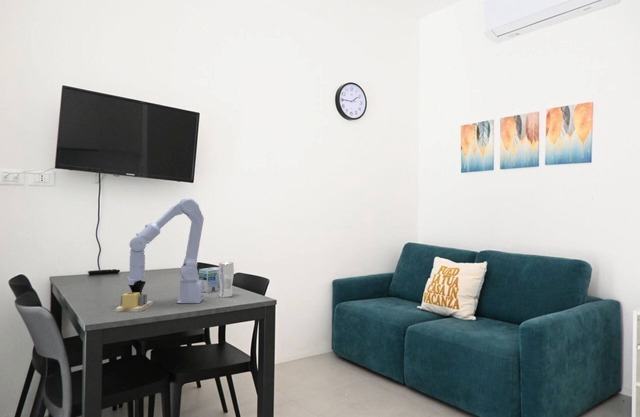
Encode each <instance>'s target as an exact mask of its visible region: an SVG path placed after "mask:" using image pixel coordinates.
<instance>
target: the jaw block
mask: <svg viewBox="0 0 640 417" xmlns="http://www.w3.org/2000/svg"><path fill="white" fill-rule="evenodd" d="M121 296H122V308H136V307H137V306H139V296H140V292H132V291H130V292H126V293H124V294H122V295H121Z"/></svg>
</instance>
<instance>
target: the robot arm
mask: <svg viewBox="0 0 640 417" xmlns="http://www.w3.org/2000/svg"><path fill="white" fill-rule="evenodd" d="M183 214H184V215H185V216H187V218H188V219H189V220H190V221H191V224H190V228H189V235H188V240H187V246H186V251H185V258H184V260H183V264H182V265H181V267H180V268H179V273H180V276H181V278H179V279H180V280H179V299H178V300H177V302H176V304H200V303H202V301H203V300H204V292H203V282H202V281H199V279H198V277H199V270H198V253H199V249H200V244H201V243H200V242H201V237H202V232H203V231H202V230H203V225H204V215H203V214H202V211H201V209H200V206H199V204H198V203H197V201H195V199H192V198H183V199H181V200H180V201H179V202H177V203H176V204H174V205H173V206H172V207H170V208H169V209H168V210H167V211H166V212H165V213H164V214H163V215H161V217H160V218H159V219H157V221H155V222H154V223H151V222H150V223H149V224H148V223H147V224H145V225H144V228H143V229H142V230H141V231H140V232H139V233H136V234H135V237H132V238H131V240H130V241H129V243H128V245H129V248H130V251H129V254H130V255H129V276H126V280H127V285H128V287H129V288H130V290H131V291H130V292H140V294H143V293H142V292H143V290H144V287H145V285H146V281H145V280H146V273H145V272H146V269H145V268H146V265H145V264H146V256H145V249H146V247H147V245H149V244H150V243H152V241H153V240H155V238H157V237H158V236H159V235H160V233H161V228H163V227H164V226H165V225H166V224H168V222H170V221H171V220H172V219H173V218H174V217H177V216H179V215H180V216H181V215H183Z"/></svg>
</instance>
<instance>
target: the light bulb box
mask: <svg viewBox="0 0 640 417" xmlns="http://www.w3.org/2000/svg"><path fill="white" fill-rule="evenodd" d="M218 268H219V267H216V266H214V267H207V268H198V281H202V282H203V293H207V294H209V293H213V292H220V284H219V277H218Z"/></svg>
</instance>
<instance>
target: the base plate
mask: <svg viewBox="0 0 640 417" xmlns="http://www.w3.org/2000/svg"><path fill="white" fill-rule="evenodd" d="M153 302H154V301H153V300H147V303H146V304H143V305H139V306H137V307H136V308H122V305H121V304H120V305H119V306H117V307H115V309H114V311H115V313H117V312H118V313H119V312H123V313H125V312H132V313H133V312H138V313H139V312H143V311H144V310H146V309H148V308H149V307H151V306H152V305H153Z"/></svg>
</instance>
